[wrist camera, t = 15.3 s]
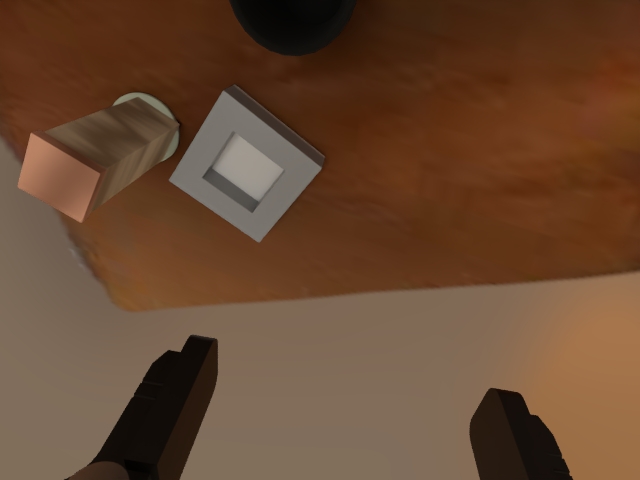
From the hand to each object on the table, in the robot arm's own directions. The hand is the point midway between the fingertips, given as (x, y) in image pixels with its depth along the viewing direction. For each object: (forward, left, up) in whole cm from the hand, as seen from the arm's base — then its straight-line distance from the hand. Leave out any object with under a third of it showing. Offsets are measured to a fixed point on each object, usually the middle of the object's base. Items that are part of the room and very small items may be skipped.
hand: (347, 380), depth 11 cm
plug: (-16, -14, -29) cm, 36 cm away
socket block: (-6, -10, -30) cm, 32 cm away
